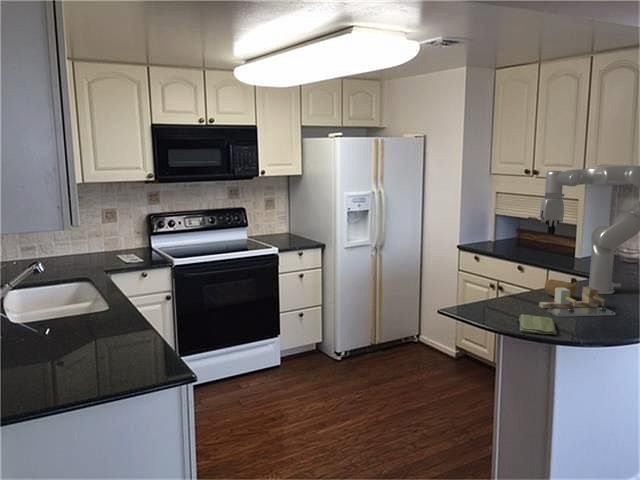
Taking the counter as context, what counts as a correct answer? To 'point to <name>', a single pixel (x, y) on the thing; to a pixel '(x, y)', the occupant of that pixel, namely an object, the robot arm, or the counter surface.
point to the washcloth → (537, 325)
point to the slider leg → (563, 296)
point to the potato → (559, 286)
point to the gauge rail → (588, 300)
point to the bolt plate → (581, 312)
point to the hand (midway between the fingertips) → (550, 234)
